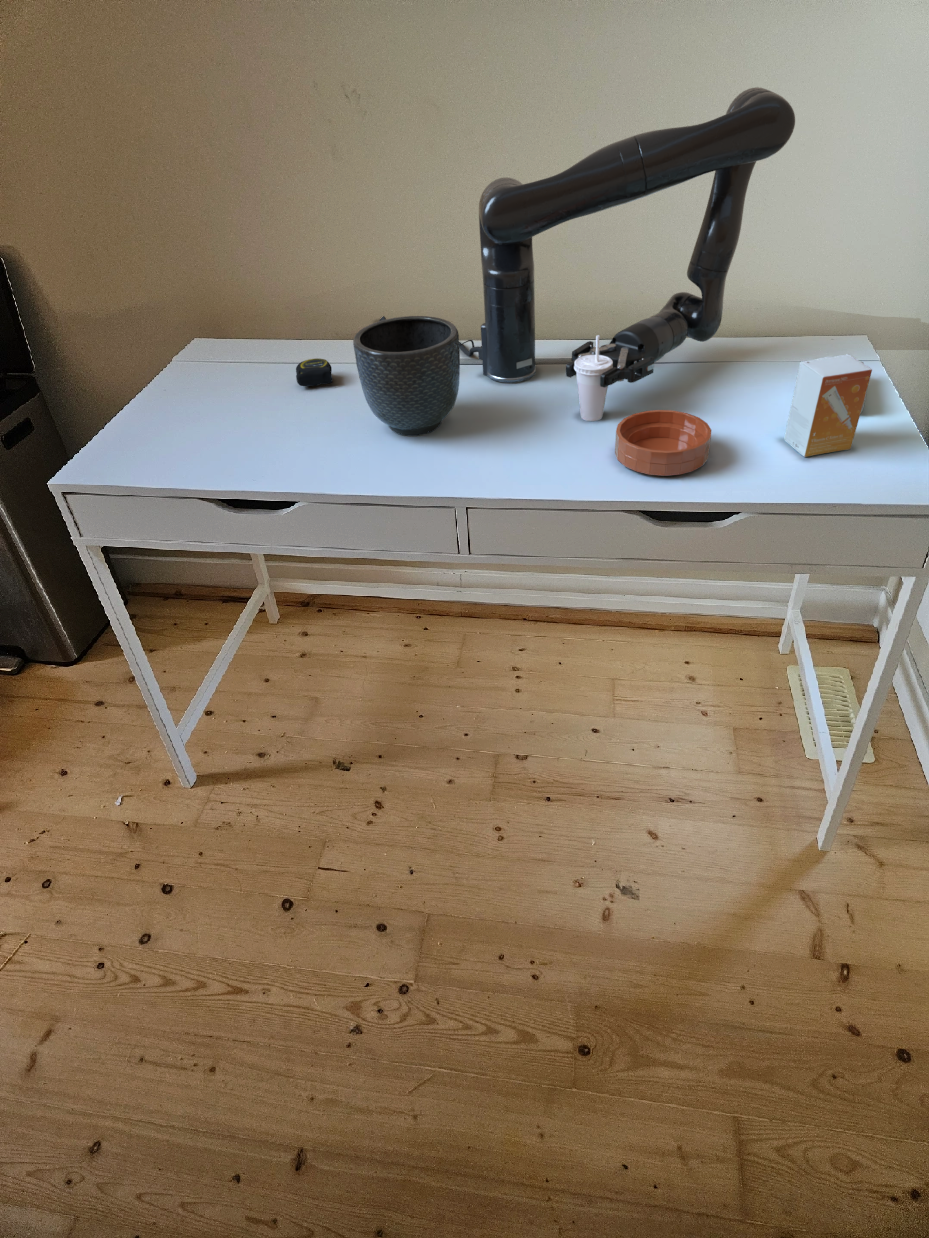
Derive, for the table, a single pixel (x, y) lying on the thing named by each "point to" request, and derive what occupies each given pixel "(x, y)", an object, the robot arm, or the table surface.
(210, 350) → the table surface
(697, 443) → the bowl
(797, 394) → the small box
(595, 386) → the smoothie
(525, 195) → the robot arm
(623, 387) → the table surface
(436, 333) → the planter
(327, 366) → the tape measure
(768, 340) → the table surface
